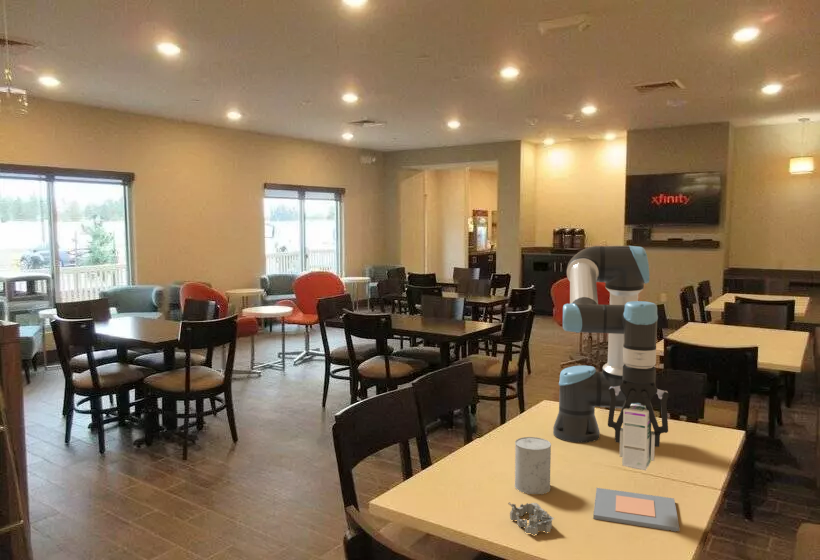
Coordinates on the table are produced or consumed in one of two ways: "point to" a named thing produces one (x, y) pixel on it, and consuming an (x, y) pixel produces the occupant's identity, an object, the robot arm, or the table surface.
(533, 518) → the grey irregular lumpy piece
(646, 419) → the syrup box
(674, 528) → the board
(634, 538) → the table surface
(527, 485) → the grey marbled cylinder
